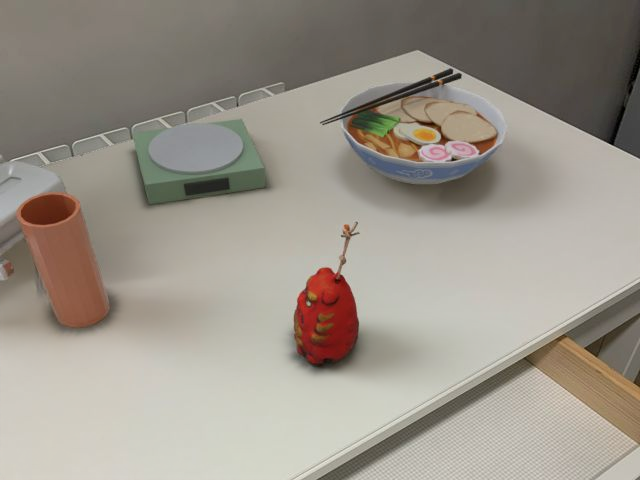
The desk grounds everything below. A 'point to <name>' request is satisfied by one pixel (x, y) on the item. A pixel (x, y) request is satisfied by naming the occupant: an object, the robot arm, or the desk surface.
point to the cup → (64, 258)
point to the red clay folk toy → (327, 314)
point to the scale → (198, 161)
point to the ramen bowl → (422, 129)
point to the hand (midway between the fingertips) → (39, 247)
